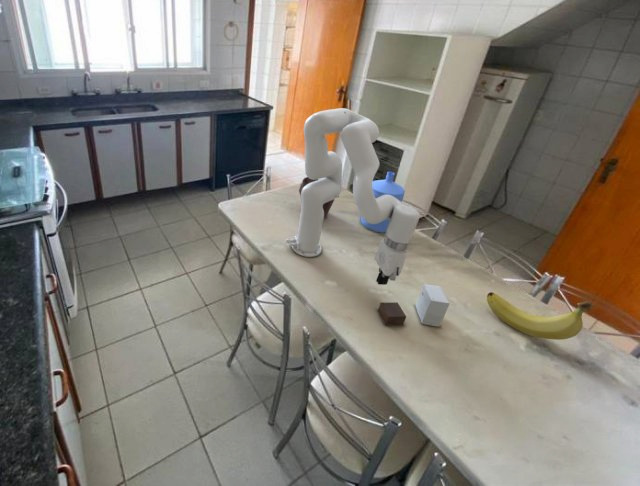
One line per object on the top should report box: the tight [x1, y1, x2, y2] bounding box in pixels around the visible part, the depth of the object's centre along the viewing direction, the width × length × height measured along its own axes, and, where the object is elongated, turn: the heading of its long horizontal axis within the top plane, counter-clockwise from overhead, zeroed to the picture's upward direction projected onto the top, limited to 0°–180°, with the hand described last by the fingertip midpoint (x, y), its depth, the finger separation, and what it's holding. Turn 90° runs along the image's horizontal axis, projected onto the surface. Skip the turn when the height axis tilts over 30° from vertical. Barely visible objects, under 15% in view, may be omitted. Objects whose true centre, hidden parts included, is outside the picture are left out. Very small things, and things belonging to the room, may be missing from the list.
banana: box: [486, 292, 594, 341], centre depth 104 cm, size 23×6×20 cm, turn 36°
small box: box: [415, 283, 450, 328], centre depth 109 cm, size 8×6×10 cm
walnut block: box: [377, 301, 407, 326], centre depth 109 cm, size 6×6×4 cm
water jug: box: [360, 171, 406, 234], centre depth 156 cm, size 16×16×28 cm
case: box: [298, 176, 340, 220], centre depth 165 cm, size 18×20×18 cm
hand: (381, 282), depth 116 cm, fingers closed
